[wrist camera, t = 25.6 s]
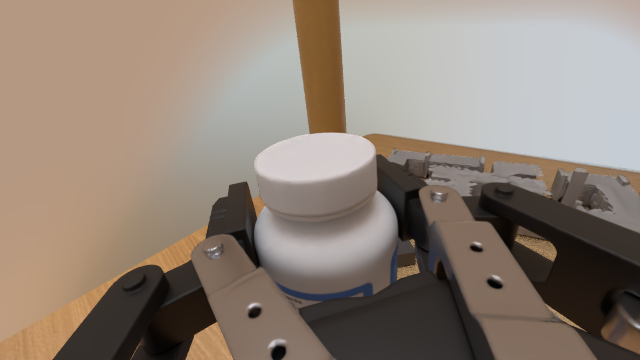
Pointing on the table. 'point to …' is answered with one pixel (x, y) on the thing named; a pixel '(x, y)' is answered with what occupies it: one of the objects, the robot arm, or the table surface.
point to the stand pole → (321, 64)
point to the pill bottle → (324, 219)
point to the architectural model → (530, 184)
